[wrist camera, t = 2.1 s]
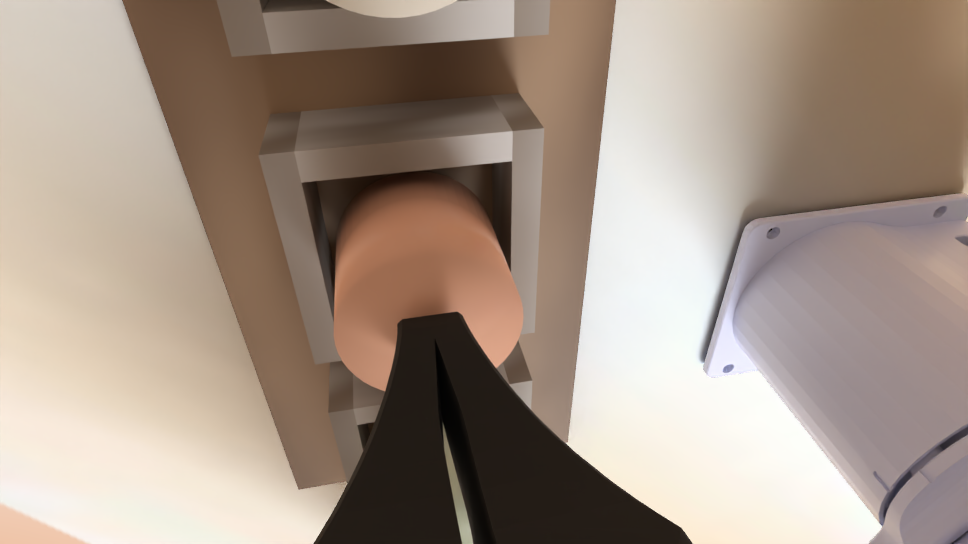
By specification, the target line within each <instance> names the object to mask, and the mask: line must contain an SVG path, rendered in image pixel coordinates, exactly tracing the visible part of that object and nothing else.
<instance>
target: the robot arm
mask: <svg viewBox="0 0 968 544" xmlns="http://www.w3.org/2000/svg"><path fill="white" fill-rule="evenodd" d="M967 217H968V195H967V194H965V193H958V194H950V195H942V196H934V197H926V198H918V199H910V200H902V201H894V202H886V203H877V204H869V205H861V206H853V207H845V208H837V209H829V210H821V211H813V212H805V213H797V214H789V215H781V216H773V217H765V218H758V219H755V220H753V221H751V222H749V223H748V224H747V226H746V227H745V229H744V231H743V233H742V237H741V240H740V244H739V247H738V250H737V254H736V257H735V260H734V264H733V267H732V271H731V274H730V277H729V281H728V284H727V288H726V291H725V294H724V298H723V301H722V304H721V308H720V311H719V315H718V318H717V321H716V325H715V328H714V332H713V335H712V338H711V342H710V345H709V348H708V352H707V355H706V359H705V362H704V365H703V370H704V371H705V373H706V374H707V376H708V377H721V376H727V375H733V374H739V373H745V372H751V371H759V372H760V373H761V374H762V376H763V377H764V378H765V379H766V381H767V382H768V383H769V384H770V386H771V387H772V388H773V389H774V391H775V392H776V393H777V394H778V396H779V397H780V398H781V400H782V401H783V402H784V403H785V405H786V406H787V407H788V408H789V410H790V411H791V412H792V413H793V415H794V416H795V417H796V418H797V420H798V421H799V422H800V423H801V425H802V426H803V427H804V428H805V430H806V431H807V432H808V434H809V435H810V436H811V437H812V439H813V440H814V441H815V442H816V444H817V445H818V446H819V447H820V449H821V450H822V451H823V452H824V454H825V455H826V456H827V457H828V459H829V460H830V461H831V462H832V464H833V465H834V466H835V468H836V469H837V470H838V471H839V473H840V474H841V475H842V476H843V478H844V479H845V480H846V481H847V483H848V484H849V485H850V486H851V488H852V489H853V490H854V491H855V493H856V494H857V495H858V496H859V498H860V499H861V500H862V502H863V503H864V504H865V505H866V507H867V508H868V509H869V510H870V512H871V513H872V514H873V515H874V517H875V518H876V519H877V520H878V522H879V523H880V524H881V525H882V528H881V530H880V531H879V532H878V534H877V535H876V536H875V537H874V538H873V539H872V540H870V541H869V544H968V222H967V221H966V219H967ZM772 228H773V229H772ZM770 229H772V230H771V231H770V232H769V233H768V231H769V230H770ZM443 425H444V429H445V433H446V437H447V440H448V444H449V448H450V452H451V455H452V459H453V463H454V467H455V470H456V474H457V478H458V481H459V485H460V489H461V493H462V496H463V500H464V504H465V507H466V511H467V516H468V520H469V524H470V529H471V534H472V540H473V544H692V542H691V541H690V539H689V538H688V536H687V535H686V534H685V532H684V531H683V529H682V528H681V527H679V526H677V525H676V524H674V523H673V522H671V521H669V520H668V519H666V518H665V517H663V516H661V515H660V514H658V513H657V512H655V511H653V510H652V509H650V508H649V507H647V506H646V505H644V504H643V503H641V502H640V501H638V500H637V499H635V498H634V497H633V496H631V495H630V494H628V493H627V492H626V491H624V490H623V489H621V488H620V487H619V486H617V485H616V484H615V483H613V482H612V481H610V480H609V479H608V478H607V477H605V476H604V475H603V474H602V473H600V472H599V471H598V470H597V469H595V468H594V467H593V466H592V465H590V464H589V463H588V462H587V461H585V460H584V459H583V458H582V457H580V456H579V455H578V454H577V453H576V452H574V451H573V450H572V449H571V448H570V447H569V446H568V445H567V444H565V443H564V442H563V441H562V440H561V439H560V438H559V437H558V436H557V435H556V434H555V433H554V432H552V431H551V430H550V429H549V428H548V427H547V426H546V425H545V424H544V423H543V422H542V421H541V420H540V419H539V418H538V417H537V416H536V415H535V414H534V412H533V411H532V410H531V409H530V408H529V407H528V406H527V405H526V404H525V403H524V402H523V400H522V399H521V398H520V397H519V396H518V395H517V394H516V392H515V391H514V390H513V389H512V388H511V386H510V385H509V384H508V383H507V382H506V380H505V379H504V378H503V377H502V375H501V374H500V373H499V371H498V370H497V369H496V367H495V366H494V365H493V363H492V362H491V361H490V359H489V358H488V357H487V355H486V354H485V352H484V351H483V349H482V348H481V346H480V345H479V343H478V342H477V340H476V339H475V337H474V336H473V334H472V332H471V331H470V329H469V327H468V325H467V323H466V321H465V319H464V317H463V315H462V314H460V313H459V312H449V313H442V314H435V315H428V316H421V317H414V318H407V319H402V320H401V321H400V322H399V323H398V324H397V342H396V348H395V354H394V359H393V364H392V368H391V372H390V375H389V379H388V383H387V387H386V390H385V394H384V397H383V400H382V403H381V406H380V409H379V411H378V414H377V417H376V420H375V423H374V426H373V428H372V431H371V433H370V436H369V438H368V441H367V443H366V446H365V448H364V450H363V453H362V455H361V457H360V459H359V461H358V464H357V466H356V468H355V470H354V472H353V474H352V476H351V478H350V480H349V482H348V484H347V486H346V488H345V490H344V492H343V494H342V496H341V498H340V500H339V501H338V503H337V505H336V507H335V509H334V511H333V512H332V514H331V516H330V517H329V519H328V521H327V522H326V524H325V526H324V527H323V529H322V531H321V532H320V534H319V536H318V537H317V539H316V541H315V542H314V544H462V540H461V535H460V530H459V525H458V520H457V515H456V510H455V504H454V499H453V494H452V489H451V483H450V478H449V473H448V467H447V462H446V457H445V451H444V436H443Z"/></svg>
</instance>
